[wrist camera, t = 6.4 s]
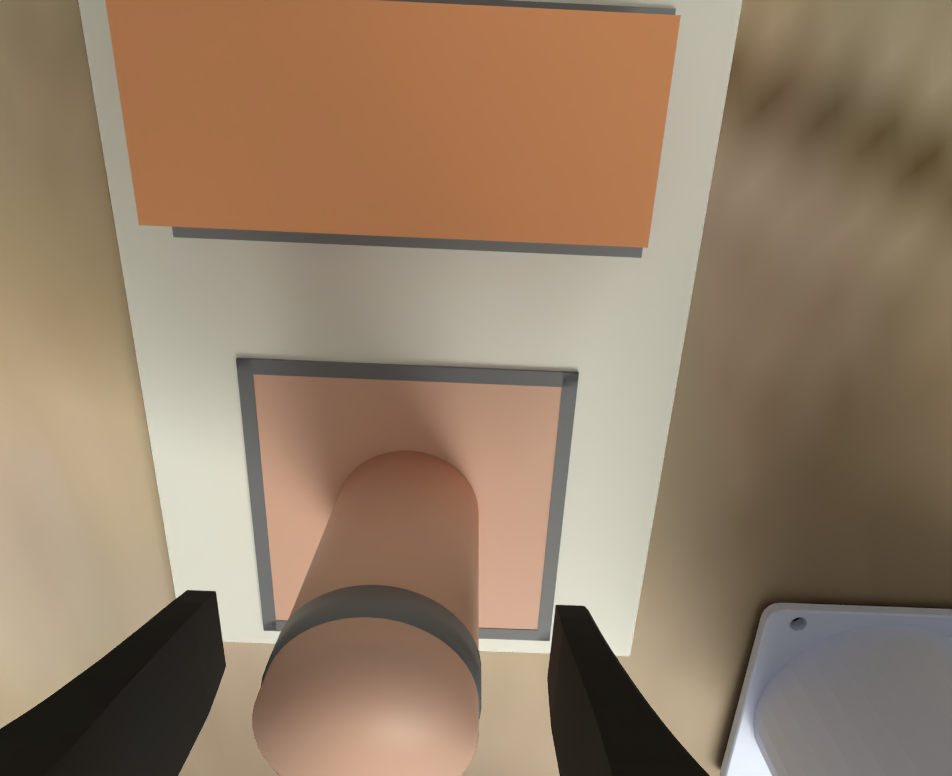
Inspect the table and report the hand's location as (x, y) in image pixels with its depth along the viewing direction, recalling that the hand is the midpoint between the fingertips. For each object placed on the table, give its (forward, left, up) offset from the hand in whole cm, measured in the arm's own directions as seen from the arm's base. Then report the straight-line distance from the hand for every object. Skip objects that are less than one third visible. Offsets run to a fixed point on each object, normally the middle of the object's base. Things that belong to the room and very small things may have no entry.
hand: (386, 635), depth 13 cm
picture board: (0, -5, -5) cm, 7 cm away
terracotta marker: (0, 0, -5) cm, 5 cm away
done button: (0, -10, -4) cm, 11 cm away
